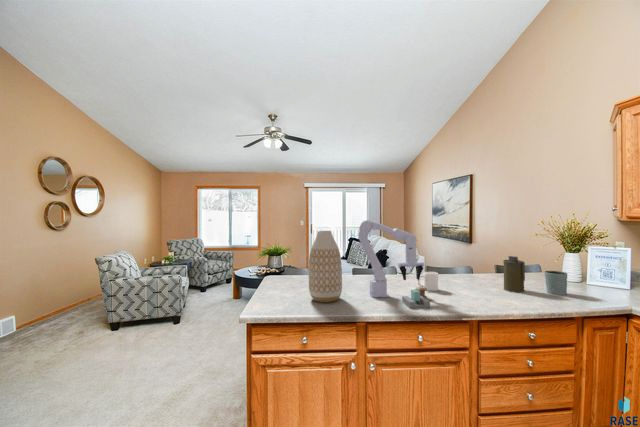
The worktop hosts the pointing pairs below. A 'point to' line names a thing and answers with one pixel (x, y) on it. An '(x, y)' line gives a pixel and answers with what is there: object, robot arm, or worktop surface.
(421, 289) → the bobbin
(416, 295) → the tab
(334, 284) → the vase
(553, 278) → the grey pot
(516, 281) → the canister
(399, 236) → the robot arm
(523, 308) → the worktop surface
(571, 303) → the worktop surface
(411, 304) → the board
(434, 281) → the cup
